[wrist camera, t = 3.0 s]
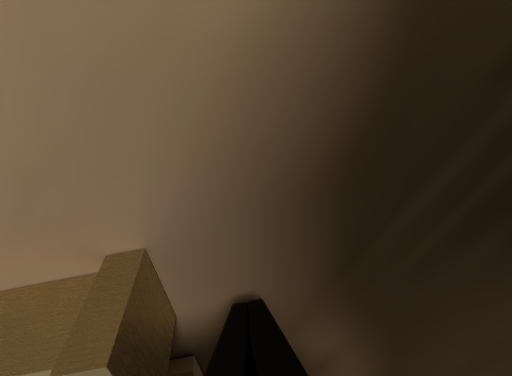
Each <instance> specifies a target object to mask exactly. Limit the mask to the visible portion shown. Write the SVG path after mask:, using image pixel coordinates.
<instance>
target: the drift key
mask: <svg viewBox="0 0 512 376" xmlns="http://www.w3.org/2000/svg"><path fill="white" fill-rule="evenodd" d="M175 320H176V315H175V313H174V311H173V309H172V307H171V304H170V302H169V300H168V298H167V296H166V294H165V291H164V289H163V287H162V285H161V283H160V281H159V278H158V276H157V274H156V272H155V270H154V268H153V265H152V263H151V261H150V259H149V257H148V254H147V252H146V250H145V249H141V250H135V251H130V252H125V253H119V254H114V255H109V256H106V257H105V259H104V261H103V263H102V265H101V267H100V269H99V272H98V273H97V274H91V275H86V276H81V277H76V278H70V279H65V280H60V281H54V282H49V283H44V284H39V285H33V286H28V287H23V288H18V289H12V290H7V291H2V292H0V376H167V372H168V366H169V359H170V353H171V346H172V340H173V333H174V327H175Z"/></svg>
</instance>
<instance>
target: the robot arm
mask: <svg viewBox="0 0 512 376" xmlns="http://www.w3.org/2000/svg"><path fill="white" fill-rule="evenodd" d="M204 376H308V374H307V373H306V371H305V369H304V368H303V366H302V364H301V363H300V361H299V359H298V358H297V356H296V354H295V353H294V351H293V349H292V348H291V346H290V344H289V343H288V341H287V339H286V338H285V336H284V334H283V333H282V331H281V329H280V328H279V326H278V324H277V323H276V321H275V319H274V318H273V316H272V314H271V313H270V311H269V309H268V308H267V306H266V304H265V303H264V301H263V300H262V299H261V298H258V299H253V300H249V301H248V303H247V302H246V301H243V302H238V303H234V304H233V305H232V307H231V309H230V312H229V314H228V317H227V319H226V322H225V324H224V327H223V329H222V332H221V334H220V337H219V339H218V342H217V345H216V347H215V350H214V352H213V355H212V357H211V360H210V362H209V365H208V367H207V370H206V372H205V375H204Z"/></svg>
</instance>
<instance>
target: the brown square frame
mask: <svg viewBox="0 0 512 376" xmlns="http://www.w3.org/2000/svg"><path fill="white" fill-rule="evenodd" d="M167 376H203V374H202V372H201V369H200V367H199V365H198V363H197V361H196V359H195V356H189V357H184V358H179V359H173V360H169V366H168V372H167Z"/></svg>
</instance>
